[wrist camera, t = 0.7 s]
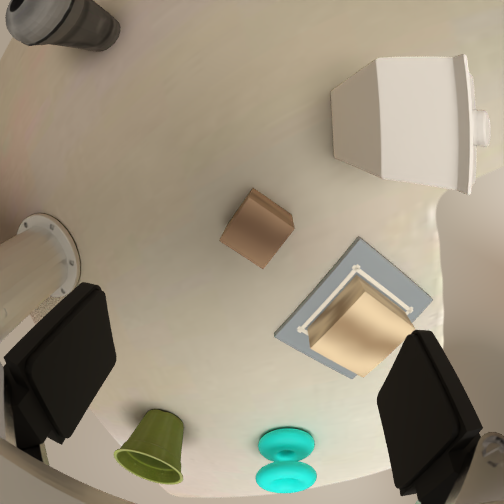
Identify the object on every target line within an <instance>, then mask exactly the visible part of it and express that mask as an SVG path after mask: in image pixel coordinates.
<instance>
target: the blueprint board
mask: <svg viewBox="0 0 504 504" xmlns="http://www.w3.org/2000/svg"><path fill="white" fill-rule="evenodd" d="M356 275H358V276H359V277H360V278H362V279H363V280H364V281H366V282H367V283H368V284H370V285H371V286H372V287H374V288H375V289H376V290H378V291H379V292H380V293H382V294H383V295H384V296H386V297H387V298H388V299H389V300H391V301H392V302H393V303H395V304H396V305H397V306H399V307H400V308H401V309H402V310H404V311H405V313H406V314H407V316H408V318H409V319H410V321H411V323H412V322H413V321H414V320H415V319H416V318H417V317H418V316H419V315H420V314H421V313H422V312H423V311H424V310H425V308H426V307H427V306H428V305H429V304H430V303H431V302H432V301H433V299H432V298H431V297H430V296H429V295H428V294H427V293H426V292H424V291H423V290H422V289H421V288H420V287H419V286H418V285H417V284H415V283H414V282H413V281H412V280H411V279H410V278H408V277H407V276H406V275H405V274H404V273H403V272H401V271H400V270H399V269H398V268H397V267H396V266H394V265H393V264H392V263H391V262H390V261H388V260H387V259H386V258H385V257H384V256H382V255H381V254H380V253H379V252H377V251H376V250H375V249H374V248H373V247H371V246H370V245H369V244H368V243H366V242H365V241H364V240H363V239H361V238H360V237H358V238H357V239H356V240H355V241H354V243H353V244H352V245H351V246H350V248H349V249H348V250H347V251H346V252H345V254H344V255H343V256H342V257H341V258H340V260H339V261H338V262H337V263H336V264H335V266H334V267H333V268H332V269H331V270H330V271H329V273H328V274H327V275H326V276H325V277H324V278H323V280H322V281H321V282H320V283H319V284H318V285H317V287H316V288H315V289H314V290H313V291H312V292H311V293H310V295H309V296H308V297H307V298H306V299H305V300H304V301H303V302H302V304H301V305H300V306H299V307H298V308H297V309H296V310H295V311H294V312H293V314H292V315H291V316H290V317H289V318H288V319H287V320H286V321H285V322H284V323H283V324H282V326H281V327H280V328H279V329H278V330H277V331H276V332H275V333H274V337H275V338H277V339H279V340H280V341H282V342H284V343H286V344H287V345H289V346H291V347H293V348H294V349H296V350H298V351H300V352H302V353H303V354H305V355H307V356H309V357H311V358H313V359H314V360H316V361H318V362H320V363H322V364H324V365H326V366H327V367H329V368H331V369H333V370H335V371H337V372H339V373H341V374H343V375H345V376H347V377H348V378H350V379H353V378H354V377H355V376H357V375H358V374H356V373H354V372H352V371H350V370H348V369H346V368H344V367H343V366H341V365H339V364H337V363H335V362H333V361H332V360H330V359H328V358H326V357H324V356H323V355H321V354H319V353H317V352H315V351H314V350H312V349H310V344H309V336H308V329H307V328H308V327H309V326H310V325H311V324H312V323H313V322H314V321H315V320H316V319H317V318H318V317H319V315H320V314H321V313H322V312H323V311H324V310H325V309H326V308H327V307H328V306H329V305H330V304H331V303H332V301H333V300H334V299H335V298H336V297H337V296H338V295H339V294H340V293H341V291H342V290H343V289H344V288H345V287H346V286H347V285H348V284H349V282H350V281H351V280H352V279H353V278H354V277H355V276H356Z"/></svg>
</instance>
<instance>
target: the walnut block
mask: <svg viewBox="0 0 504 504" xmlns="http://www.w3.org/2000/svg"><path fill="white" fill-rule="evenodd" d="M294 229H295V228H294V223H293V218H292V215H291V214H290V213H289V212H287V211H286V210H284V209H283V208H281V207H280V206H279V205H277V204H276V203H274V202H273V201H271V200H270V199H268V198H267V197H266V196H264V195H263V194H261V193H260V192H258V191H257V190H255V189H254V188H253V189H252V190H251V191H250V193H249V194H248V196H247V197H246V199H245V200H244V201H243V203H242V204H241V206H240V207H239V209H238V210H237V211H236V213H235V214H234V216H233V217H232V219H231V220H230V222H229V223H228V225H227V226H226V228H225V230H224V232H223V234H222V236H221V238H220V240H219V241H221V242H222V243H224V244H225V245H227V246H228V247H230V248H231V249H233V250H234V251H236V252H238V253H239V254H241V255H242V256H244V257H245V258H247V259H248V260H250V261H251V262H253V263H254V264H256V265H257V266H259V267H260V268H262V269H264V267H265V266H266V265H267V264H268V262H269V261H270V260H271V258H272V257H273V256H274V255H275V253H276V252H277V251H278V249H279V248H280V247H281V246H282V244H283V243H284V242H285V240H286V239H287V238H288V237H289V235H290V234H291V233H292V231H293V230H294Z"/></svg>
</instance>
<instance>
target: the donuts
mask: <svg viewBox="0 0 504 504" xmlns="http://www.w3.org/2000/svg"><path fill="white" fill-rule="evenodd" d="M314 445H315V444H314V440H313V438H312V436H311V435H310V434H308V433H307V432H304V431H302V430H299V429H292V428H284V429H277V430H274V431H271V432H269V433H267V434H265V435H264V436H263V437H262V438H261V439H260V441H259V444H258V448H259V451H260V453H261V454H262V455H263V456H264V457H265V458H267V459H268V460H271V461H274V462H273V463H270V464H267V465H265V466H264V467H262V468H261V469H260V470H259V471H258V472H257V474H256V482H257V484H258V485H259V486H260V487H261V488H263V489H265V490H267V491H270V492H275V493H293V492H299V491H302V490H305V489H307V488H309V487H310V486H312V485H313V484H314V483H315V481H316V478H317V474H316V471H315V470H314V469H313V468H312V467H311V466H310V465H308V464H306V463H303V462H298V461H300V460H302V459H304V458H306V457H307V456H309V455H310V454H311V452H312V451H313V449H314Z"/></svg>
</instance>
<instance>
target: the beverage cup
mask: <svg viewBox="0 0 504 504" xmlns="http://www.w3.org/2000/svg"><path fill="white" fill-rule="evenodd" d="M6 26H7V29H8V31H9V32H10V34H11V35H12V36H13V37H14V38H15V39H16V40H18V41H21V42H22V43H23V44H26V45H28V46H32V45H46V44H52V45H59V46H66V47H73V48H79V49H85V50H95V51H103V50H106V49H108V48H109V47H111V46H112V45H113V44H114V43H115V41H116V40H117V38H118V36H119V33H120V25H119V22H118V21H116V20H115V19H114V17H112V16H111V15H110V14H109V13H108V12H107V11H105V10H104V9H103V8H102V7H100V6H99V5H98V4H97V3H95V2H94V1H93V0H11V1H10V3H9V5H8V8H7V12H6Z"/></svg>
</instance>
